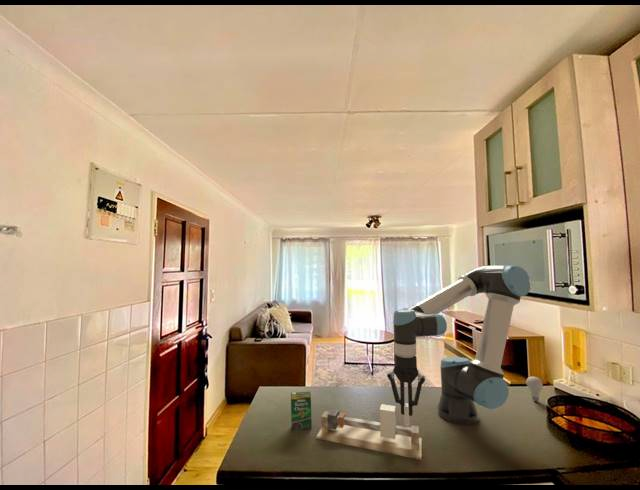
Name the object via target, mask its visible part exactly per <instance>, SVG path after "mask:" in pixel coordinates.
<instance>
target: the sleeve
mask: <svg viewBox="0 0 640 490" xmlns="http://www.w3.org/2000/svg"><path fill="white" fill-rule="evenodd" d="M396 409H397V408H396V405H391V404H385V403H384V404H383V403H381V405H380V408H379V422H380V437H385V438H391V439H395V437H396V434H395V425H397V417H396V416H397V415H396V414H397V410H396Z"/></svg>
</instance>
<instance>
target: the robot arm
mask: <svg viewBox="0 0 640 490" xmlns="http://www.w3.org/2000/svg"><path fill="white" fill-rule="evenodd" d="M528 275H529V274H528V272H527V271H526V270H525V269H524V268H523V267H522V266H519V265H511V264H505V265H504V264H503V265H500V264H496V265H488V264H487V265H482V266H479V267H476V268H474V269H472V270H470V271H468V272H466V273H464V274H462V275H461V276H459V277H458V278H457V281H455V282H453V283H451V284H449V285H448V286H446V287H444V288H442V289H440V290H439V291H437V292H435V293H433V294H432V295H430V296H429V297H426V298H425V299H422V301H419V302H418V303H416V304H415V305H413V306H411V307H409V308H406V307H405V308H400V309H396V310H394V312H393V320H392V324H393V339H394V340H393V348H394V349H393V350H394V351H393V353H394V361H393V362H394V367H393V369H392V370H391V371H388V372H387V376H386V377H387V378H388V380H389V382H390V385H391V389H392V395H393V397H394V402H395V404H399V405H400V413H401V415H403V416H404V418H403V419H404V427H409V428H410V417H412V416H413V413H414V411H413V407H414V406H415V407H417V406H418V404H419V399H420V396H421V391H422V387H423V384H424V383H425V382H426V377H425V375H422V374H420V373H419V370H418V365H417V363H418V361H417V356H416V355H417V337H418V338H419V337H429V336H430V337H431V336H432V337H433V336H434V337H437V336H441V335H444V334H445V333H446V332H447V329H448V325H447V324H448V323H447V321H446V318H445V317H444V315H442V314H440V313H442V312H443V311H446V310H447V309H448V308H451V307H452V306H454V305H455V304H457V303H459V302H461V301H462V300H464V299H466V298H467V297H474V296H476V295H478V294H482V293H483V294H484V293H485V296H486V297H487V305H486V310H485V314H484V318H483V323H482V328H481V332H480V335H479V336H480V337H479V340H478V345H477V348H476V353H475V358H474V359H469V358H466V357H459V356H449V357H443V358H442V359H441V360H440V368H439V369H440V381H441V382H440V383H441V393H440V397H439V401H438V404H437V412H438V413H437V414H438V415H439V416H440V417H441V418H443V419H444V420H446V421H448V422H451V423H454V424H458V425H467V426H468V425H473V424H476V423H477V422H478V421H479V413H478V410H477V408H476V405H475V404H477V405H479V406H481V407H483V408H486V409H488V410H496V409H499V408H500V407H502V406H503V405H504V404H505V403H506V401H507V400H508V398H509V393H510V392H509V391H510V390H509V387H508V383H507V382H506V381H505V380H504V376H505V373H504V371H503V369H502V368H501V367H502V363H503V358H504V352H505V348H506V343H507V339H508V334H509V330H510V325H511V319H512V316H513V311H514V306H516V305H518V304H520V302H521V297H525V296H527V295H528V294H529V293H530V291H531V289H532V287H531V288H530V282H529V277H530V275H529V276H528ZM395 377H396V378H397V380H398V381H399V387H400V395H399V392H398V388H397V384H396V380H395ZM416 379H417V381H418V382H417V386H416V390H415V394H414V399H413V382H414V381H415V380H416ZM405 383H406V384H407V394H408V395H407V397H408V398H407V399H408V400H407V401H408V403H407V402H405Z"/></svg>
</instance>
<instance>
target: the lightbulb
mask: <svg viewBox="0 0 640 490" xmlns="http://www.w3.org/2000/svg"><path fill="white" fill-rule="evenodd" d="M525 381H526V386H527V387H528V389H529V391H530V395H531V400H532V401H534V402H535V401H537V402H539V400H540V394H541V391H542V389H543V388H544V387H543V386H544V384H543V382H542V380H541V379H540V378H539V377H537V376H529V377H527V378H526V380H525Z"/></svg>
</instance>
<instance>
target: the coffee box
mask: <svg viewBox="0 0 640 490" xmlns="http://www.w3.org/2000/svg"><path fill="white" fill-rule="evenodd" d="M290 412H291V413H290V415H291V416H290V417H291V419H290V420H291V422H290V423H291V425H290V426H291V430H292V431H294V430H295V431H297V430H298V431H299V430H311V429H312V426H313V425H312V419H313V418H312V394H311V391H299V392H295V391H293V392H291V393H290Z"/></svg>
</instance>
